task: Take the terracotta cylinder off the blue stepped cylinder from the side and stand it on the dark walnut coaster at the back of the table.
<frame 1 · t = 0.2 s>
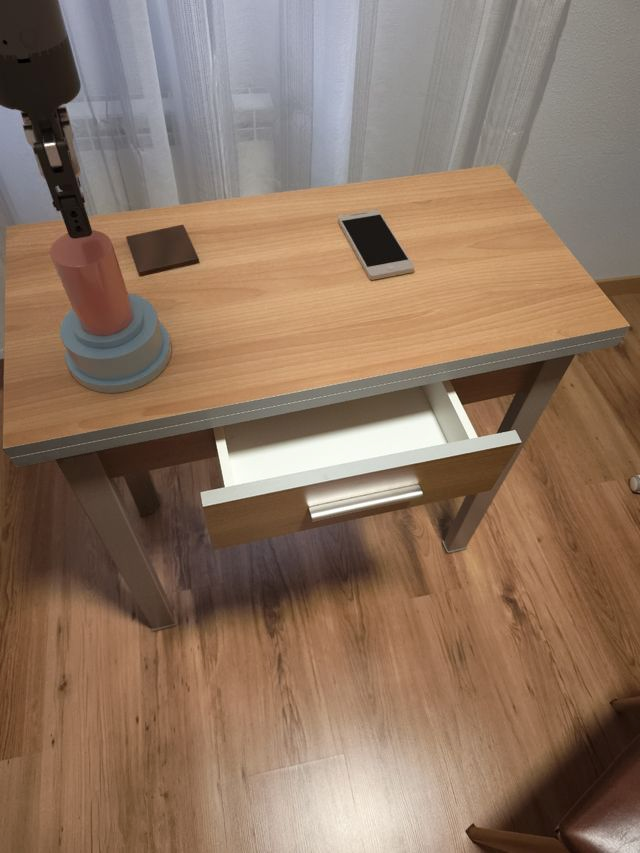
hand: (75, 211, 59), 20 cm above the table, tool pointing down, fingers open, 8 cm apart
coaster: (162, 251, 86), on the table
blue stepped cylinder: (120, 354, 74), on the table
smartphone: (373, 246, 89), on the table
terracotta cylinder: (106, 317, 69), point 7 cm above the table, touching blue stepped cylinder
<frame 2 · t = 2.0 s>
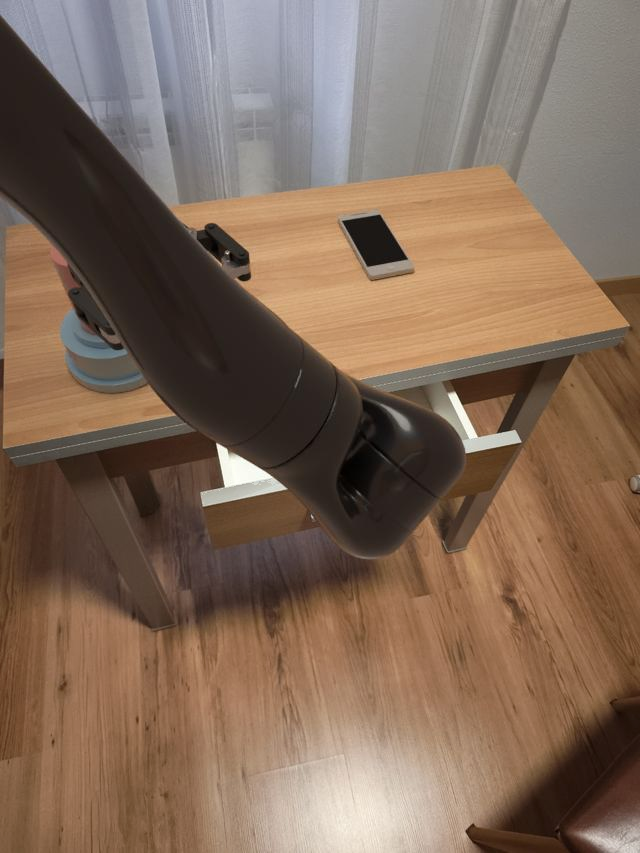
hand: (119, 241, 50), 23 cm above the table, tool horizontal, fingers open, 8 cm apart
nothing on the table moved.
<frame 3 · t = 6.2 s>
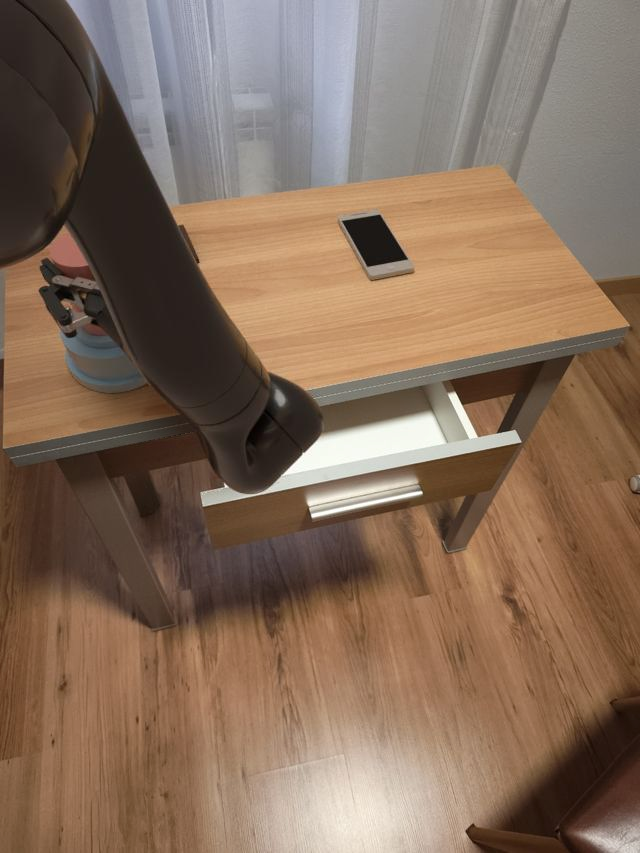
hand: (76, 252, 63), 15 cm above the table, tool horizontal, fingers closed on terracotta cylinder, 6 cm apart
terracotta cylinder: (106, 316, 69), point 7 cm above the table, touching gripper, blue stepped cylinder
everything else where it was.
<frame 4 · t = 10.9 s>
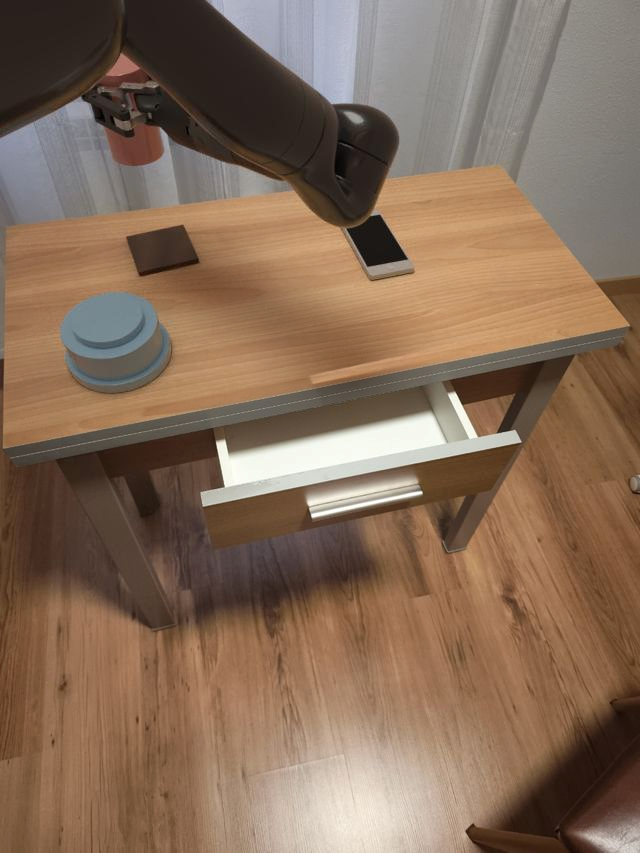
hand: (106, 77, 64), 26 cm above the table, tool horizontal, fingers closed on terracotta cylinder, 6 cm apart
terracotta cylinder: (138, 152, 70), point 18 cm above the table, touching gripper
everything else where it was.
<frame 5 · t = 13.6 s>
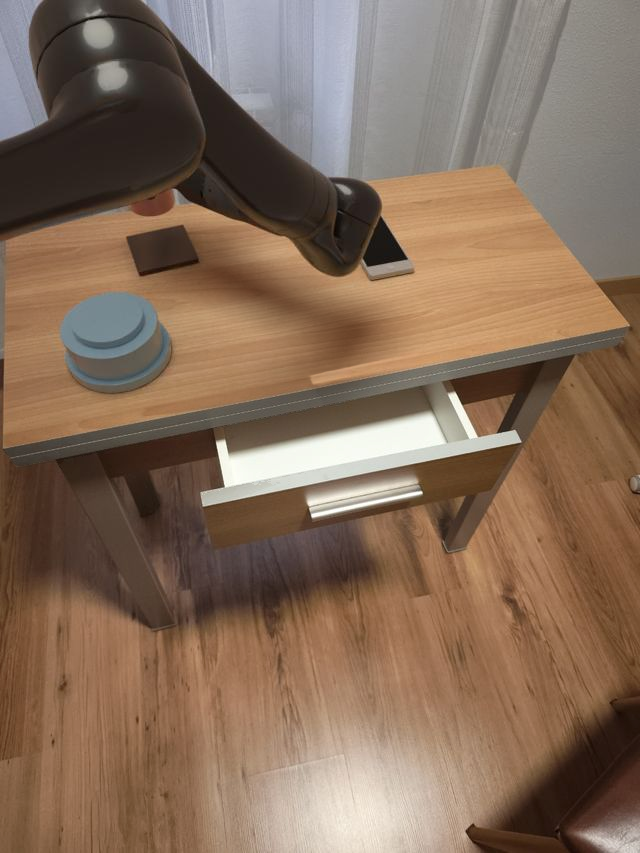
hand: (125, 142, 74), 16 cm above the table, tool horizontal, fingers closed on terracotta cylinder, 6 cm apart
terracotta cylinder: (152, 203, 80), point 8 cm above the table, touching gripper
everything else where it was.
when the fingers open (9 cm above the table, at t = 15.8 s): terracotta cylinder stays where it is, resting on coaster.
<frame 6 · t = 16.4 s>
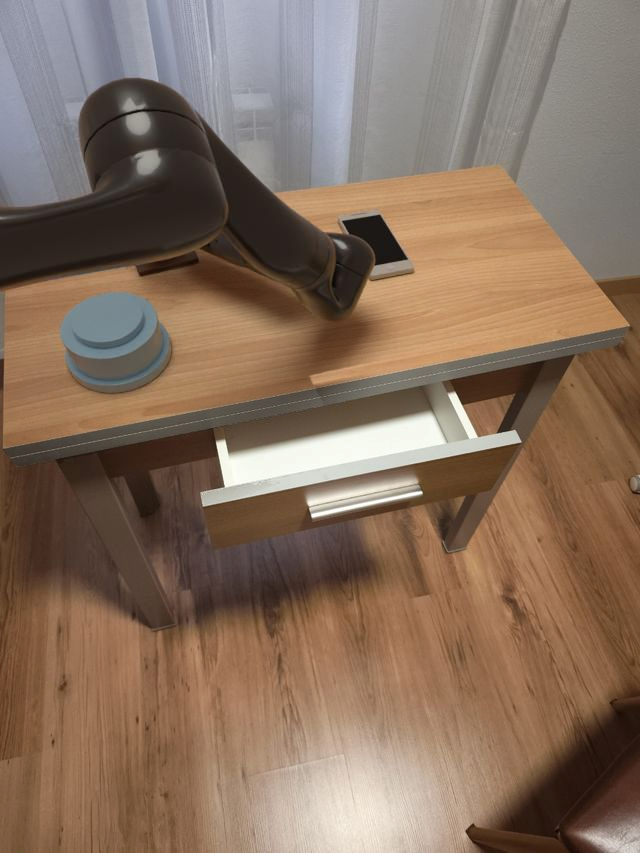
hand: (139, 191, 79), 9 cm above the table, tool horizontal, fingers open, 8 cm apart
terracotta cylinder: (162, 247, 86), point 1 cm above the table, touching coaster
everything else where it was.
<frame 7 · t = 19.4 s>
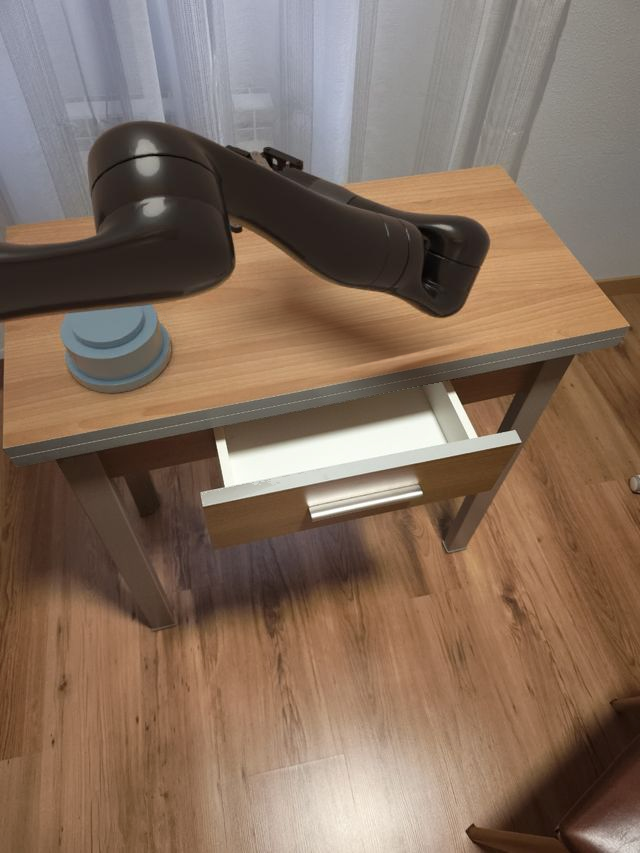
hand: (203, 168, 69), 17 cm above the table, tool horizontal, fingers open, 8 cm apart
nothing on the table moved.
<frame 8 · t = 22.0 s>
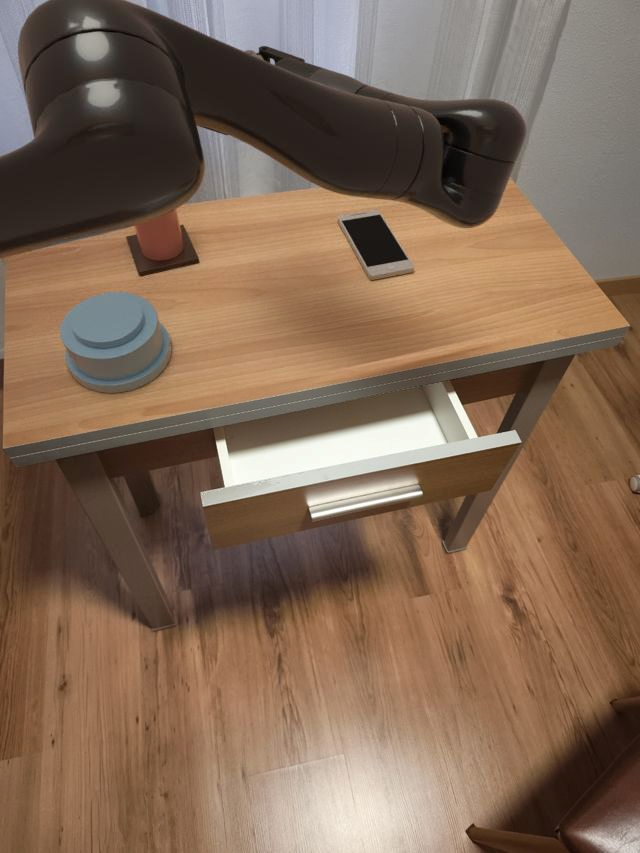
hand: (190, 69, 60), 28 cm above the table, tool horizontal, fingers open, 8 cm apart
nothing on the table moved.
at the end: terracotta cylinder inside the target area on the coaster (0.1 cm from its centre), point 0.8 cm above the coaster's base; terracotta cylinder tilted 0°; terracotta cylinder touching coaster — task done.
